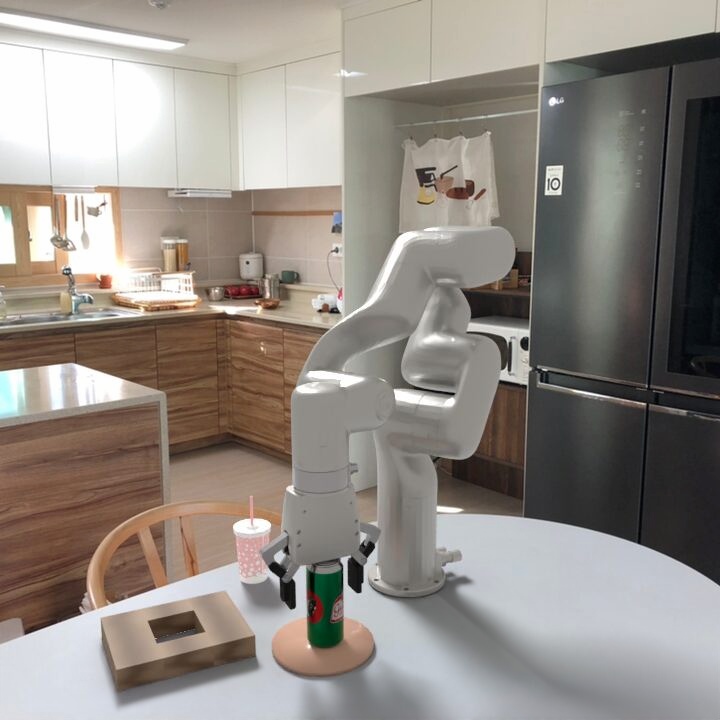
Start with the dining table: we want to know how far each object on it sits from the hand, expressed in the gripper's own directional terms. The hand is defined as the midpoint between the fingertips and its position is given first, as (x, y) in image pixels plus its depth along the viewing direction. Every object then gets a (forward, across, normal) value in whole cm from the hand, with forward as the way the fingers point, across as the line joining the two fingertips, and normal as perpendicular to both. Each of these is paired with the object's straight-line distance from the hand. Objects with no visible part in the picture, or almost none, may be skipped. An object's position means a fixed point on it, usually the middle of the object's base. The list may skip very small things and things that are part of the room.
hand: (322, 596), depth 104 cm
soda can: (+7, 0, 0) cm, 7 cm away
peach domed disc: (+7, 0, 0) cm, 7 cm away
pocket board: (+7, +18, -9) cm, 21 cm away
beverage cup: (+8, +2, -24) cm, 25 cm away
